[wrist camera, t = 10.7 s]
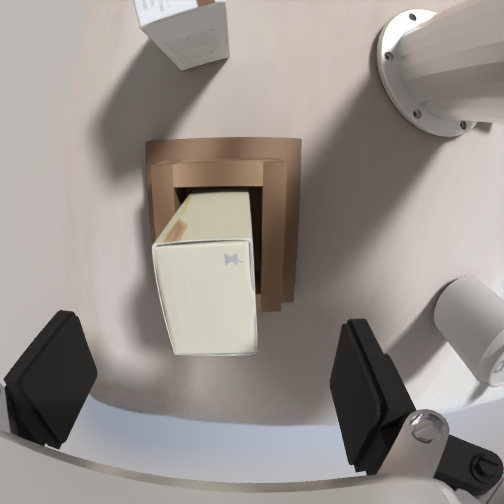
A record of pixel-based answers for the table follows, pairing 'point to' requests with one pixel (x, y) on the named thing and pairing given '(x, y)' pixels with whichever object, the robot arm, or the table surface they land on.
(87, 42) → the table surface
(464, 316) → the can
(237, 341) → the skincare box
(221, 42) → the skincare box
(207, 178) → the slotted stand
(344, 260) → the table surface
